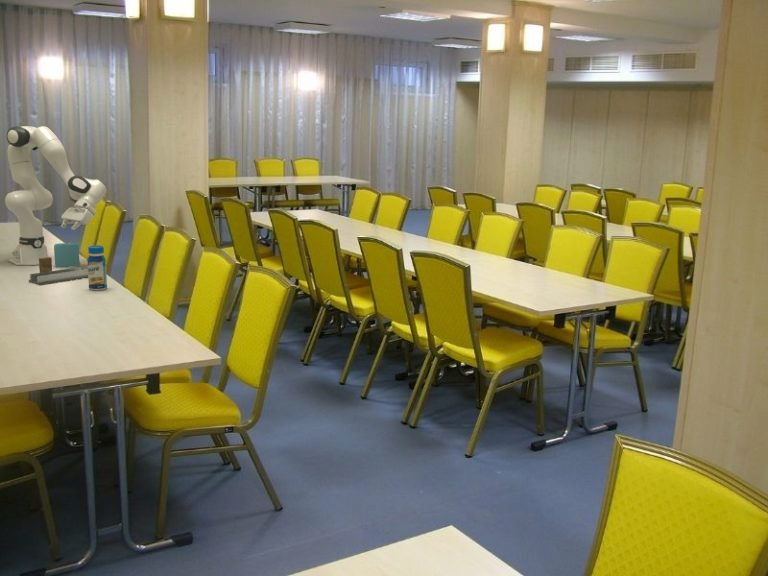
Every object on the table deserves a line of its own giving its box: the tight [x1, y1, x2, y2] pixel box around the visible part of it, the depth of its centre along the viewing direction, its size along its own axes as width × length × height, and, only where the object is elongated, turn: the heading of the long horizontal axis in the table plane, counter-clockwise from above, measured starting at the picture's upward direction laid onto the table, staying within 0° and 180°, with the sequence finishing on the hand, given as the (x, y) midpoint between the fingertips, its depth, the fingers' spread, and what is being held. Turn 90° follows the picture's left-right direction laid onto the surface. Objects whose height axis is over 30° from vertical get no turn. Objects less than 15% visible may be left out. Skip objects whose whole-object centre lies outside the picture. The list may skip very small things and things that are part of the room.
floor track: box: [28, 266, 88, 286], centre depth 403 cm, size 11×26×4 cm, turn 140°
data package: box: [53, 242, 81, 268], centre depth 435 cm, size 12×4×12 cm, turn 113°
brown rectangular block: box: [38, 256, 53, 273], centre depth 410 cm, size 3×5×9 cm, turn 141°
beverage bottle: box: [86, 244, 108, 291], centre depth 384 cm, size 8×8×20 cm
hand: (67, 228), depth 416 cm, fingers open, 8 cm apart
